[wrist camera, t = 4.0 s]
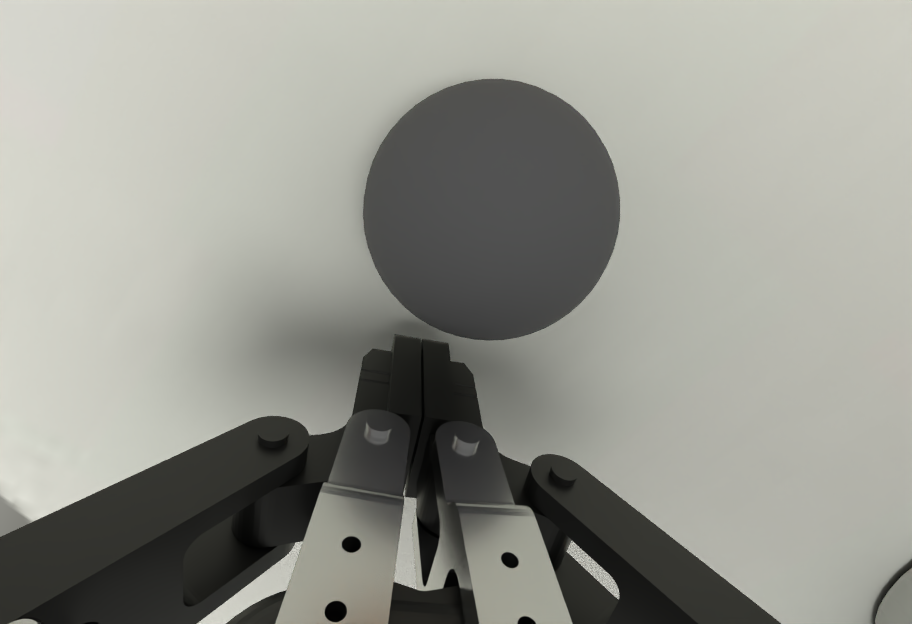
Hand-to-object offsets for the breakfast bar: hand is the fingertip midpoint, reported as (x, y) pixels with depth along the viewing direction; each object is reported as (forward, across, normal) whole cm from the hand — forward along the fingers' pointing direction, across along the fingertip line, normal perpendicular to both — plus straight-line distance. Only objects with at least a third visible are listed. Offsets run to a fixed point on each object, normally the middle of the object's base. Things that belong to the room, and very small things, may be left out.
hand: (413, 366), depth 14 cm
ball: (-1, -1, -5) cm, 5 cm away
